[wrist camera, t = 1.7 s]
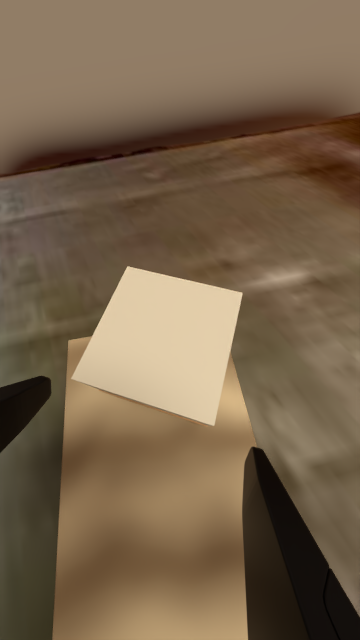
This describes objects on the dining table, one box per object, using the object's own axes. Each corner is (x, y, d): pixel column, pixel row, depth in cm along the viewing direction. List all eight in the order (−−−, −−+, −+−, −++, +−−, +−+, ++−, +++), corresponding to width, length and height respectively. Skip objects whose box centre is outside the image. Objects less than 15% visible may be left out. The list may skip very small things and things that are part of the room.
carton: (200, 425, 16) (215, 428, 7) (131, 402, 17) (69, 379, 8) (216, 355, 19) (243, 292, 10) (155, 338, 19) (126, 265, 10)
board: (295, 611, 14) (311, 640, 12) (68, 664, 13) (48, 703, 11) (217, 323, 22) (219, 314, 20) (78, 347, 21) (68, 340, 20)
